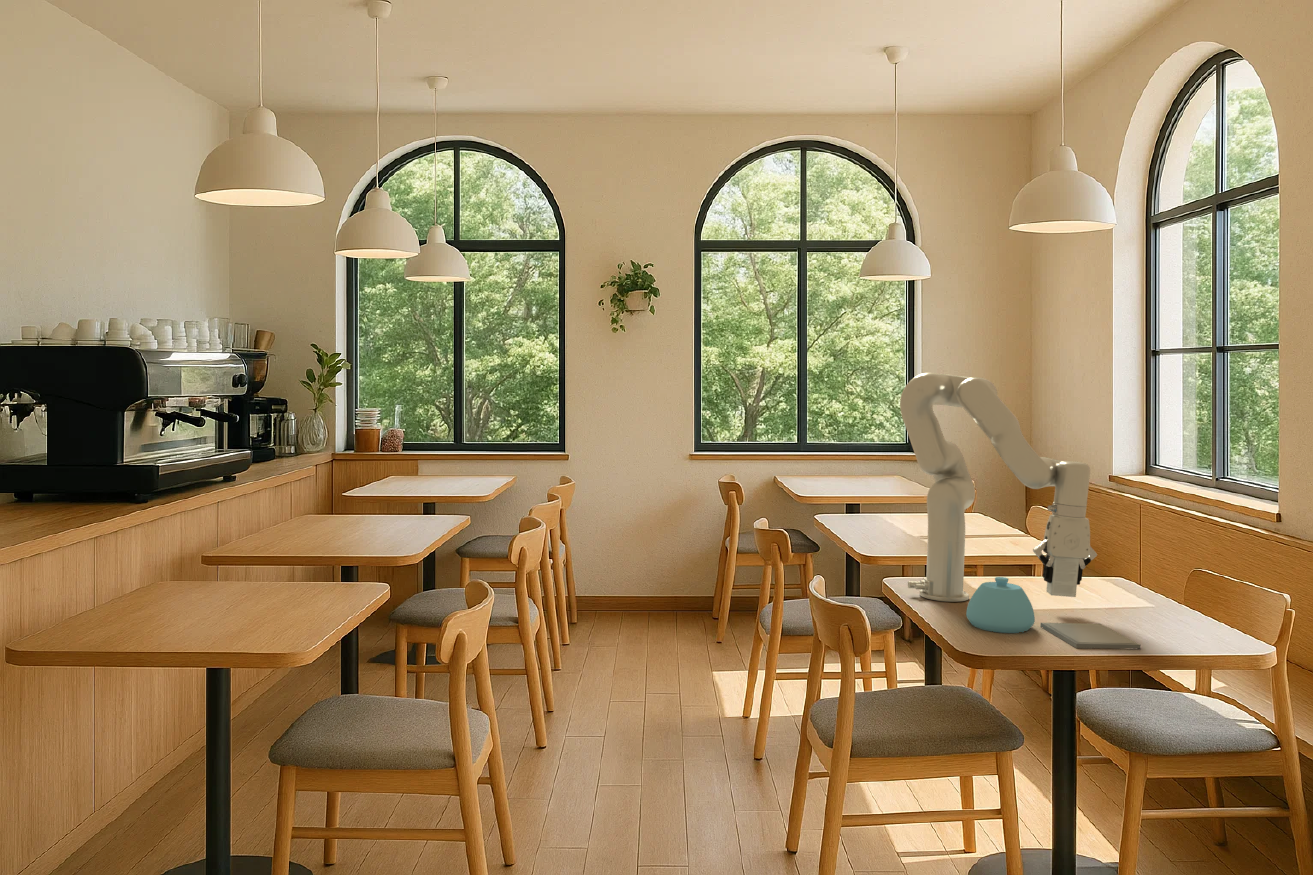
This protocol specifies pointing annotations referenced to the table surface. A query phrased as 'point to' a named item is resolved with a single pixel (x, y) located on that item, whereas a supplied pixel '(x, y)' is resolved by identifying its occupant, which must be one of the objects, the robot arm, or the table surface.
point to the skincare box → (1064, 577)
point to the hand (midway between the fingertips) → (1061, 581)
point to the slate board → (1089, 635)
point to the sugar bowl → (1000, 607)
